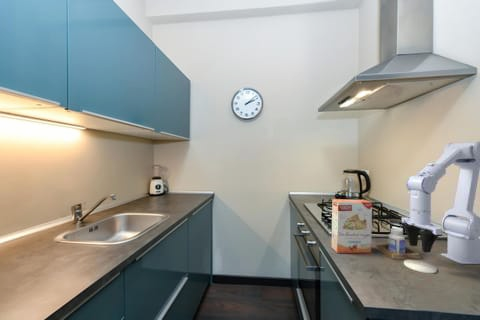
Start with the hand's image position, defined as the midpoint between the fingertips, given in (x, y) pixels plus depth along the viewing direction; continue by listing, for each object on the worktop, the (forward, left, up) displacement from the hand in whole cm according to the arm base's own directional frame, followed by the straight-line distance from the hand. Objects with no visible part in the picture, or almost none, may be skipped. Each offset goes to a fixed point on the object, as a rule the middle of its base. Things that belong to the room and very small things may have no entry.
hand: (419, 248), depth 78 cm
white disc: (0, 0, -6) cm, 6 cm away
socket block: (0, -11, -6) cm, 13 cm away
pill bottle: (0, -11, -7) cm, 13 cm away
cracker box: (+17, -14, -7) cm, 23 cm away
